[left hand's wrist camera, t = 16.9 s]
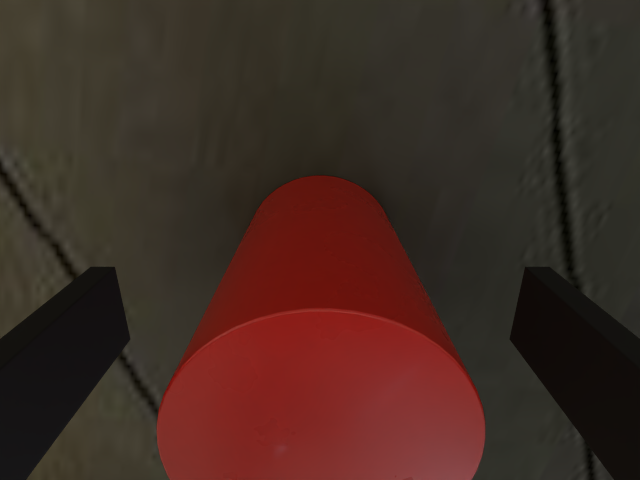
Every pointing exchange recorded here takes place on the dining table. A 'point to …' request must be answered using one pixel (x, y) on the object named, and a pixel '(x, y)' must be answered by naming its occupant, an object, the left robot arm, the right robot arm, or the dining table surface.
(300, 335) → the red cylinder
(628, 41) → the dining table surface
